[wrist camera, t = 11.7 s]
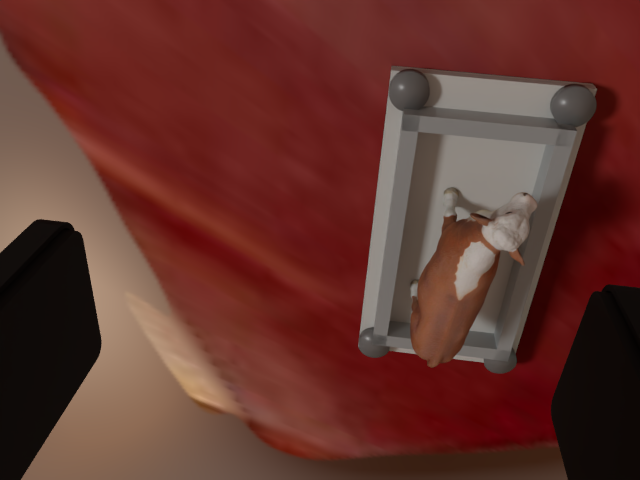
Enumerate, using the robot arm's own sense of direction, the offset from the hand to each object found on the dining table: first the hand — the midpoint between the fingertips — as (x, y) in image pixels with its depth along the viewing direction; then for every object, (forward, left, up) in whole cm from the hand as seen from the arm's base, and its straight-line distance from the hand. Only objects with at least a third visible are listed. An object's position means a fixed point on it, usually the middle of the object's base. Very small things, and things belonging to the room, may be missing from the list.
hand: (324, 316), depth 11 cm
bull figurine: (+14, +7, -28) cm, 31 cm away
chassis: (+14, +7, -28) cm, 32 cm away
